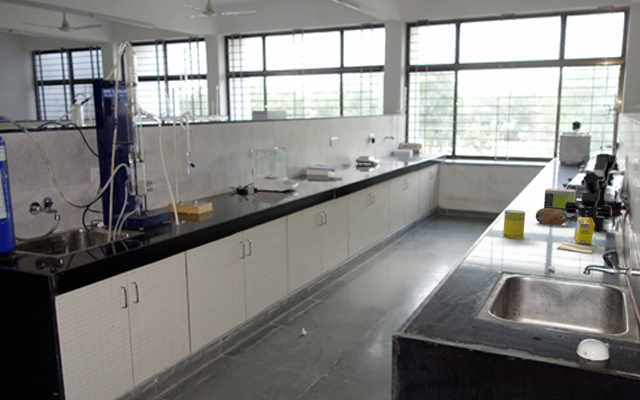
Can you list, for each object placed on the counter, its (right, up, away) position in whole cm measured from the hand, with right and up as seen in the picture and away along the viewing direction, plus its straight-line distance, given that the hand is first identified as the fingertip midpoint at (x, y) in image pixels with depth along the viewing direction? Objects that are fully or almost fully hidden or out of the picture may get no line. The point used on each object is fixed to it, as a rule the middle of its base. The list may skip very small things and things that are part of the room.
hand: (584, 224), depth 232 cm
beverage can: (-27, -7, +14) cm, 31 cm away
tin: (+3, -2, +41) cm, 41 cm away
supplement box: (0, -8, +1) cm, 8 cm away
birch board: (-7, -10, -7) cm, 14 cm away
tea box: (+18, +2, +65) cm, 67 cm away
